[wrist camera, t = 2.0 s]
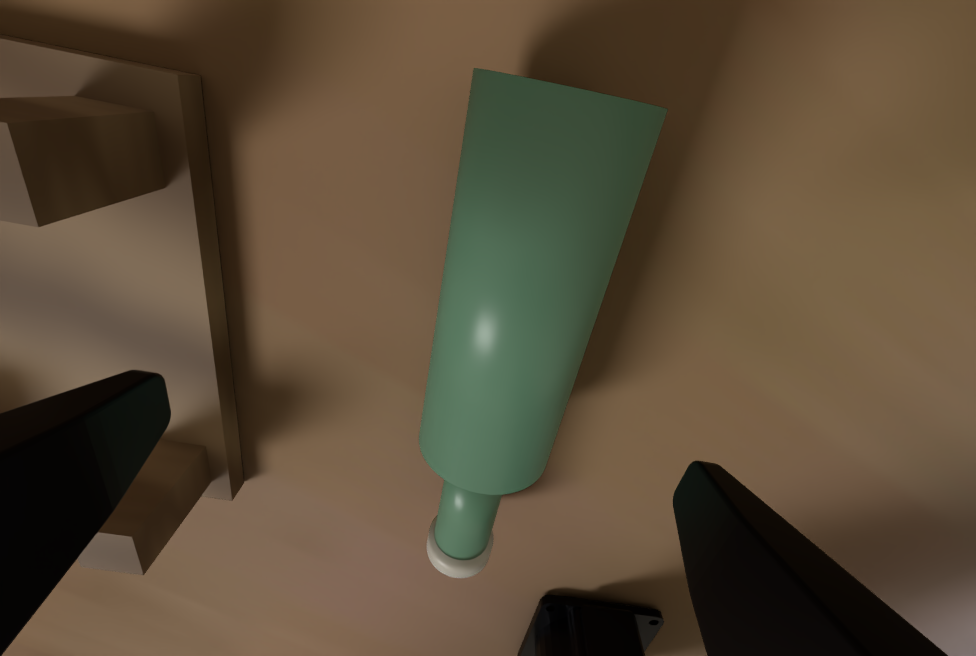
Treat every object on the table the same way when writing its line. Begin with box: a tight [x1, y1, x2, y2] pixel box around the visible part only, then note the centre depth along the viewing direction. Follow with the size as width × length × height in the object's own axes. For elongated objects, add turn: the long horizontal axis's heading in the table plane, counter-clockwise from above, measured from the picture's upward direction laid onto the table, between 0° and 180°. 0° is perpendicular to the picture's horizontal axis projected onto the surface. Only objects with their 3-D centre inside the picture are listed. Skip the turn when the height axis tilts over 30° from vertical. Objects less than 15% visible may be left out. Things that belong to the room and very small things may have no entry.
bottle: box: [419, 68, 668, 578], centre depth 14 cm, size 17×4×4 cm
